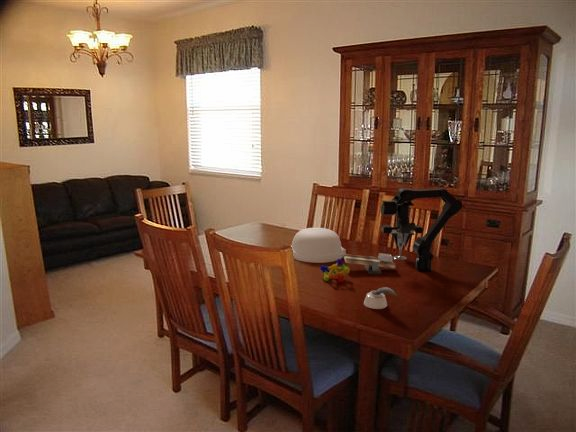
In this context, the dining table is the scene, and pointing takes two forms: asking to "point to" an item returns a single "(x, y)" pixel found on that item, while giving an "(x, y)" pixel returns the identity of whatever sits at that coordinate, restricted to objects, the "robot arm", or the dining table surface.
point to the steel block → (385, 258)
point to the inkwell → (378, 298)
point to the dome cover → (317, 245)
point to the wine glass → (400, 245)
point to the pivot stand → (373, 268)
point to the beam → (366, 261)
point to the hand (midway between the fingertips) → (400, 246)
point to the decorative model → (335, 271)
